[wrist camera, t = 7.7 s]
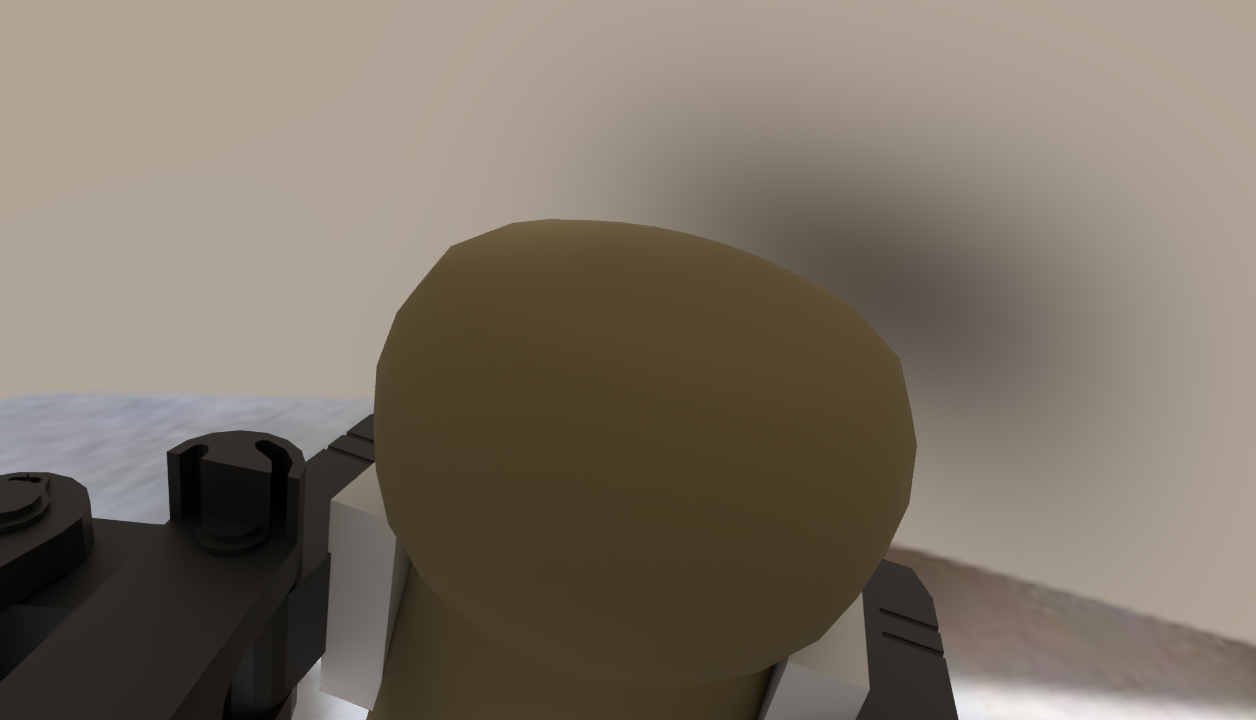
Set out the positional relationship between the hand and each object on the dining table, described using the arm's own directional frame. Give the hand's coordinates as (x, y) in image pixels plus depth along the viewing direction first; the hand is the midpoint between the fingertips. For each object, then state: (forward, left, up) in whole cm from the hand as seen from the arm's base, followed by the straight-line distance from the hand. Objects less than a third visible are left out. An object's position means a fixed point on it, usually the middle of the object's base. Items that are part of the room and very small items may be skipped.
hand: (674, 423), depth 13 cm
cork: (0, +5, -7) cm, 9 cm away
